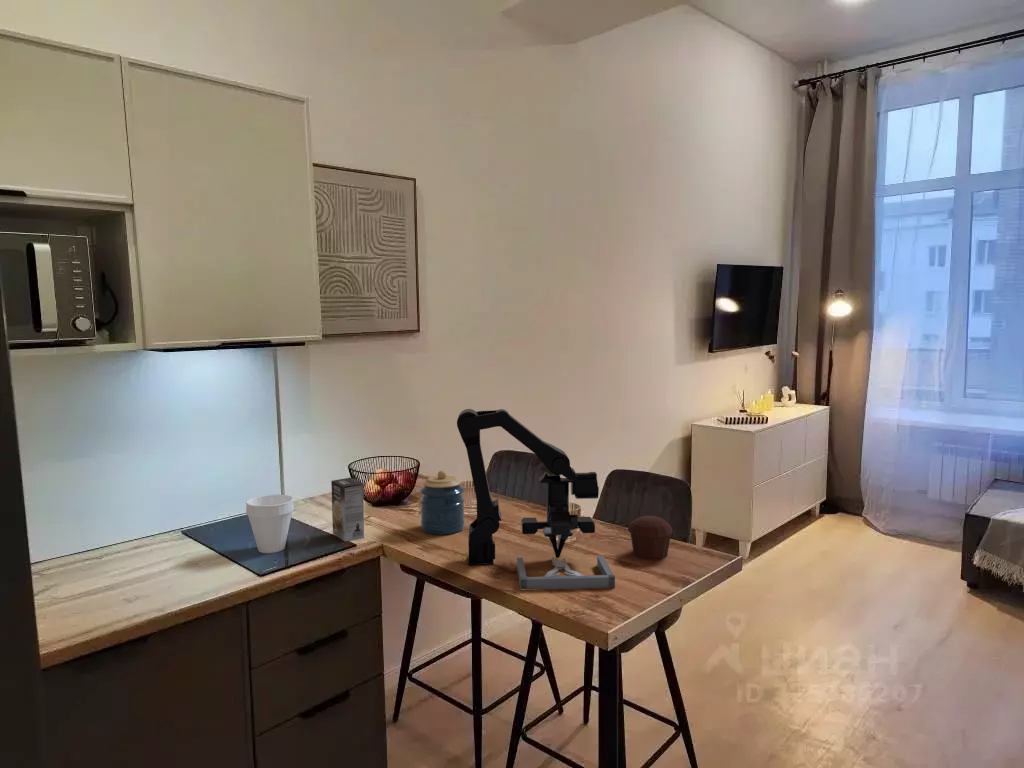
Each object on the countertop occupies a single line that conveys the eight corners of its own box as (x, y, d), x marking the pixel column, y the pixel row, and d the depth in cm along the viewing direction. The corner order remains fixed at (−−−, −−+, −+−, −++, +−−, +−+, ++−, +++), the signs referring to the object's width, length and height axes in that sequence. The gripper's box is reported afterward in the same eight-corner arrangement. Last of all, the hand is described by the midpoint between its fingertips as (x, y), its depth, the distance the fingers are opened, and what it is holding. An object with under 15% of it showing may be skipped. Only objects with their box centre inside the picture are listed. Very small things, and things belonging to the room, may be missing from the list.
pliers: (545, 579, 162) (539, 557, 176) (545, 586, 162) (539, 563, 177) (586, 578, 162) (577, 556, 177) (586, 585, 162) (577, 562, 177)
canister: (416, 534, 199) (414, 475, 198) (426, 521, 212) (425, 465, 211) (460, 536, 198) (459, 476, 196) (468, 522, 211) (467, 466, 209)
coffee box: (331, 534, 200) (330, 480, 199) (352, 529, 204) (350, 477, 203) (344, 542, 193) (343, 486, 191) (365, 537, 197) (364, 482, 195)
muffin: (668, 547, 188) (668, 511, 187) (676, 561, 177) (677, 523, 176) (624, 547, 188) (624, 511, 187) (630, 561, 177) (630, 523, 176)
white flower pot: (291, 539, 196) (290, 492, 194) (298, 552, 185) (296, 502, 183) (245, 545, 190) (243, 497, 189) (249, 559, 179) (247, 508, 178)
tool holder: (520, 590, 158) (520, 579, 158) (516, 567, 173) (516, 557, 173) (614, 587, 160) (614, 577, 160) (603, 565, 174) (603, 555, 174)
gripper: (523, 508, 169) (523, 569, 170) (598, 506, 169) (598, 568, 171) (520, 496, 180) (521, 554, 181) (591, 495, 181) (591, 552, 182)
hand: (557, 557), depth 179 cm, fingers closed
